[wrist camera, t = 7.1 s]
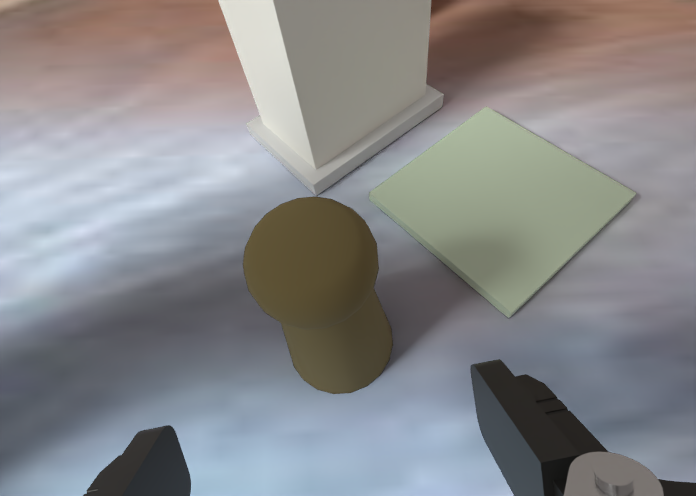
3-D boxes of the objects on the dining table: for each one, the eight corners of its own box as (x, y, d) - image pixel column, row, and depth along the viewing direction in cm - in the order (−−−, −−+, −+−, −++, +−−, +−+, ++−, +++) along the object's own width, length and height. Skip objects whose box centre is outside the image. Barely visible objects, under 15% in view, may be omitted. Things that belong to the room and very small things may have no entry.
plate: (508, 318, 23) (512, 312, 23) (369, 200, 29) (369, 192, 28) (630, 201, 27) (636, 193, 26) (484, 114, 32) (486, 106, 31)
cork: (318, 279, 26) (272, 156, 17) (408, 313, 24) (413, 196, 15) (270, 367, 23) (185, 280, 14) (367, 412, 22) (343, 346, 12)
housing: (316, 195, 30) (252, -38, 17) (250, 135, 34) (158, -91, 21) (442, 106, 33) (469, -144, 20) (368, 61, 37) (352, -171, 24)
